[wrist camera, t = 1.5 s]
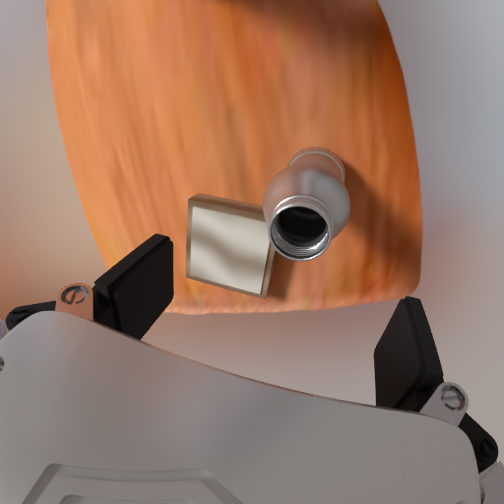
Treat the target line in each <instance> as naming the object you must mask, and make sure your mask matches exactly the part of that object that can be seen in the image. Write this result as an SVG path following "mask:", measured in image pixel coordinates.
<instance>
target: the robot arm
mask: <svg viewBox="0 0 504 504" xmlns="http://www.w3.org/2000/svg"><path fill="white" fill-rule="evenodd" d="M173 295H174V285H173V242H172V241H170V238H169V237H168V236H164V235H160V234H154V235H153V236H152V237H150V238H149V239H148V240H146V241H145V242H144V243H142V244H141V245H140V246H138V247H137V248H136V249H135V250H133V251H132V252H131V253H129V254H128V255H127V256H126V257H124V258H123V259H122V260H121V261H119V262H118V263H117V264H116V265H114V266H113V267H112V268H111V269H109V270H108V271H107V272H106V273H105V274H103V275H102V276H101V277H99V278H98V279H97V280H96V281H95V286H94V287H93V288H91V287H90V286H88V285H86V284H83V283H74V284H70V285H67V286H65V287H64V288H63V289H61V290H60V292H59V293H58V296H57V300H56V301H51V302H45V303H39V304H32V305H26V306H21V307H17V308H15V309H14V310H12V311H11V312H10V313H9V314H8V316H7V318H6V322H3V320H0V504H504V466H503V464H502V463H501V461H500V462H498V463H497V461H496V460H497V457H498V446H497V444H496V442H495V440H494V439H493V438H492V437H491V436H490V435H489V434H488V433H487V432H486V431H485V430H484V429H483V428H482V427H481V426H480V425H479V424H478V423H477V422H476V421H474V420H473V419H472V418H471V417H470V416H469V415H468V414H467V413H466V410H467V408H468V397H467V395H466V393H465V391H464V390H463V389H462V388H461V387H460V386H459V385H457V384H455V383H452V382H444V379H443V371H442V367H441V363H440V360H439V356H438V352H437V349H436V346H435V342H434V339H433V336H432V333H431V330H430V326H429V323H428V320H427V317H426V315H425V312H424V309H423V306H422V303H421V300H420V299H417V298H413V297H409V296H406V297H405V298H404V299H401V300H400V301H399V303H398V305H397V307H396V309H395V311H394V313H393V315H392V317H391V319H390V321H389V323H388V325H387V327H386V329H385V331H384V333H383V335H382V336H381V338H380V340H379V342H378V344H377V346H376V348H375V351H374V367H375V385H376V386H375V387H376V406H373V405H367V404H361V403H356V402H350V401H344V400H338V399H333V398H328V397H323V396H319V395H314V394H309V393H305V392H301V391H296V390H292V389H288V388H284V387H280V386H276V385H272V384H268V383H265V382H261V381H257V380H254V379H250V378H247V377H243V376H240V375H237V374H233V373H230V372H227V371H224V370H220V369H217V368H214V367H211V366H208V365H205V364H202V363H199V362H196V361H193V360H191V359H188V358H185V357H182V356H179V355H177V354H174V353H171V352H168V351H166V350H163V349H161V348H158V347H155V346H153V345H151V344H148V343H145V342H143V341H141V339H142V337H143V336H144V334H146V332H147V331H148V330H149V329H150V327H151V326H152V325H153V323H154V322H155V321H156V320H157V319H158V317H159V316H160V315H161V314H162V312H163V311H164V310H165V309H166V307H167V306H168V305H169V304H170V303H171V301H172V299H173Z"/></svg>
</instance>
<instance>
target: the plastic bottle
mask: <svg viewBox="0 0 504 504" xmlns="http://www.w3.org/2000/svg"><path fill="white" fill-rule="evenodd" d="M345 177H346V173H345V168H344V165H343V163H342V161H341V160H340V158H339V157H338V156H337V155H336V154H334V153H333V152H331V151H330V150H327V149H325V148H321V147H310V148H306V149H303V150H301V151H299V152H298V153H296V154H295V155H294V156H293V157H292V159H291V160H290V162H289V164H288V167H287V168H285V169H284V170H282V171H280V172H279V173H277V174H276V175H275V176H274V177H273V178H272V179H271V181H270V182H269V184H268V185H267V187H266V189H265V192H264V196H263V212H264V216H265V220H266V222H267V224H268V236H269V240H270V242H271V244H272V246H273V247H274V249H275V250H276V251H277V252H278V253H279V254H281V255H282V256H284V257H285V258H288V259H290V260H294V261H308V260H312V259H315V258H317V257H319V256H320V255H321V254H323V253H324V252H325V250H326V249H327V248H328V246H329V244H330V242H331V240H332V239H334V238H335V237H336V236H337V235H338V234H339V233H340V232H341V231H342V230H343V228H344V227H345V225H346V223H347V222H348V219H349V216H350V210H351V202H350V196H349V193H348V191H347V188H346V186H345V185H344V183H345Z"/></svg>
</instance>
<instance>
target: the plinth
mask: <svg viewBox="0 0 504 504" xmlns="http://www.w3.org/2000/svg"><path fill="white" fill-rule="evenodd" d="M276 253H277V251H276V250H275V249H274V247H273V246H272V244H271V242H270V240H269V236H268V224H267V222H266V220H265V216H264V212H263V206H259V205H254V204H250V203H245V202H240V201H235V200H230V199H225V198H220V197H215V196H210V195H205V194H200V193H198V194H196V195H195V196H193V197H191V198H190V199H188V218H187V246H186V278H190V279H193V280H197V281H200V282H204V283H207V284H211V285H214V286H218V287H221V288H225V289H229V290H232V291H236V292H240V293H243V294H247V295H251V296H255V297H258V298H262V299H265V298H266V296H267V293H268V291H269V288H270V283H271V278H272V273H273V268H274V263H275V258H276Z"/></svg>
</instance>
